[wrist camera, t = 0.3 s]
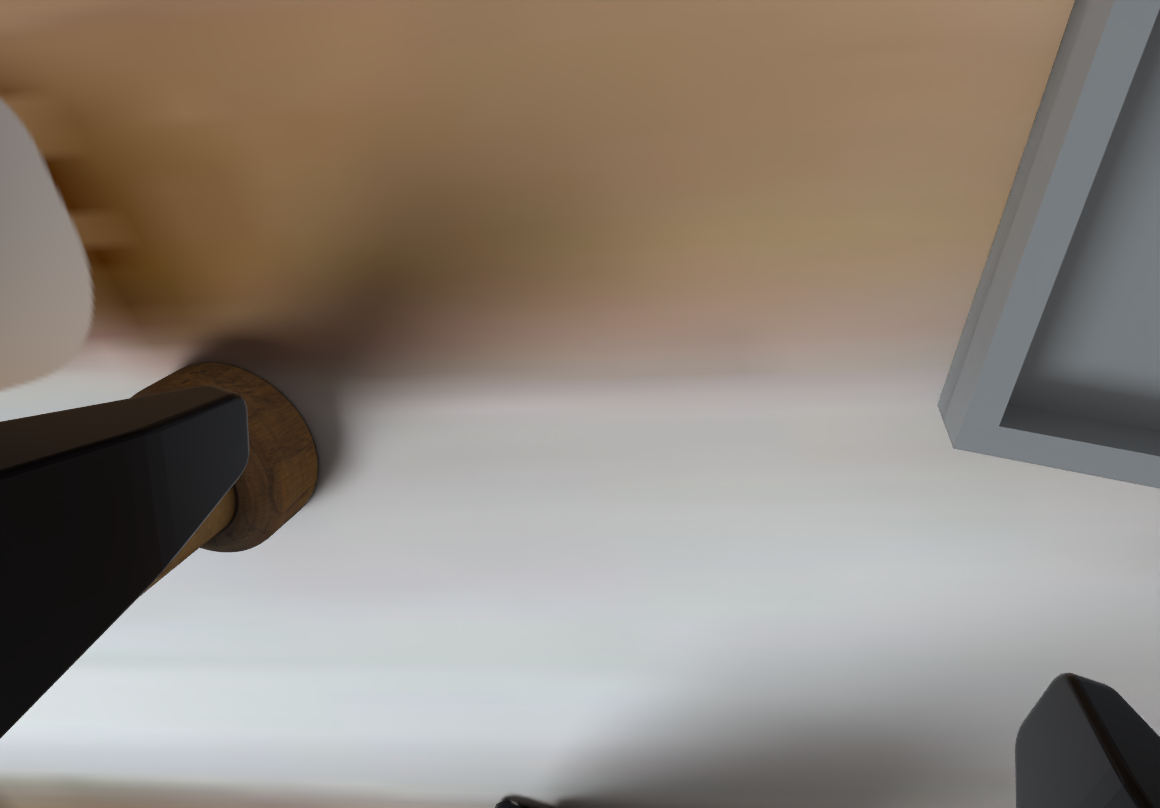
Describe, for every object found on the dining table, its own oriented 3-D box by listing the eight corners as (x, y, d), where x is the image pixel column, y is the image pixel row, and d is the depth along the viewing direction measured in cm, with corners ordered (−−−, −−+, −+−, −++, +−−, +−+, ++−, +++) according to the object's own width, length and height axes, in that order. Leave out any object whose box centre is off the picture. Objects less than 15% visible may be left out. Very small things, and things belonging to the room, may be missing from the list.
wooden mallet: (295, 361, 26) (-478, 860, 10) (337, 524, 29) (-227, 1118, 13) (135, 360, 28) (-732, 783, 12) (188, 513, 30) (-466, 1024, 15)
